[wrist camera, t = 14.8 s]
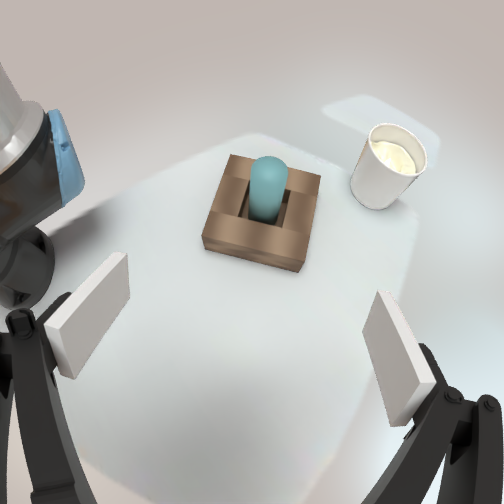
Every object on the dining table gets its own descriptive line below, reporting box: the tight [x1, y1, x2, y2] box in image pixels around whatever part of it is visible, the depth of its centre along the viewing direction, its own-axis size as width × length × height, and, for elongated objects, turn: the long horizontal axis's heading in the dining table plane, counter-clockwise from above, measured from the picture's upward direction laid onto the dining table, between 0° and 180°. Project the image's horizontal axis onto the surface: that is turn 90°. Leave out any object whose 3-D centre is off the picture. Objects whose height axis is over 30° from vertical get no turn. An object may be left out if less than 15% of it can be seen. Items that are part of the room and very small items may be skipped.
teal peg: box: [248, 156, 288, 226], centre depth 42 cm, size 4×4×12 cm
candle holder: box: [351, 123, 428, 210], centre depth 46 cm, size 10×10×12 cm
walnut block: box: [201, 154, 321, 273], centre depth 46 cm, size 14×14×5 cm
